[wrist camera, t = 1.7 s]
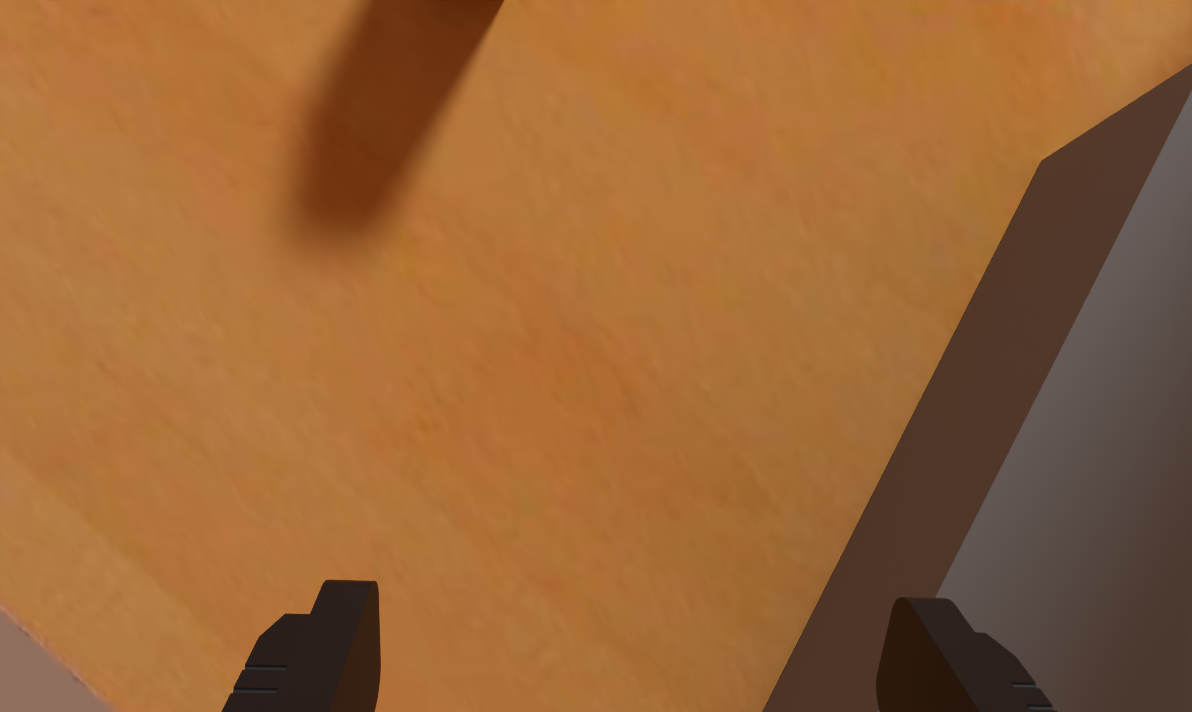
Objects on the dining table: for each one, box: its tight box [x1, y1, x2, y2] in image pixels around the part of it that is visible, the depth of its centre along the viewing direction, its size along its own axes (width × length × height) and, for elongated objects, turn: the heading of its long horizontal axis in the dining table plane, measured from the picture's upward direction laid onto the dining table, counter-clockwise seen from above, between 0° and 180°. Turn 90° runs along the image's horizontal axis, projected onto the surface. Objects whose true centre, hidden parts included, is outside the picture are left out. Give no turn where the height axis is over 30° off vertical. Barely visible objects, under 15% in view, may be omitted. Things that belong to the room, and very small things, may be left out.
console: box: [763, 64, 1192, 712], centre depth 29 cm, size 28×8×11 cm, turn 153°
